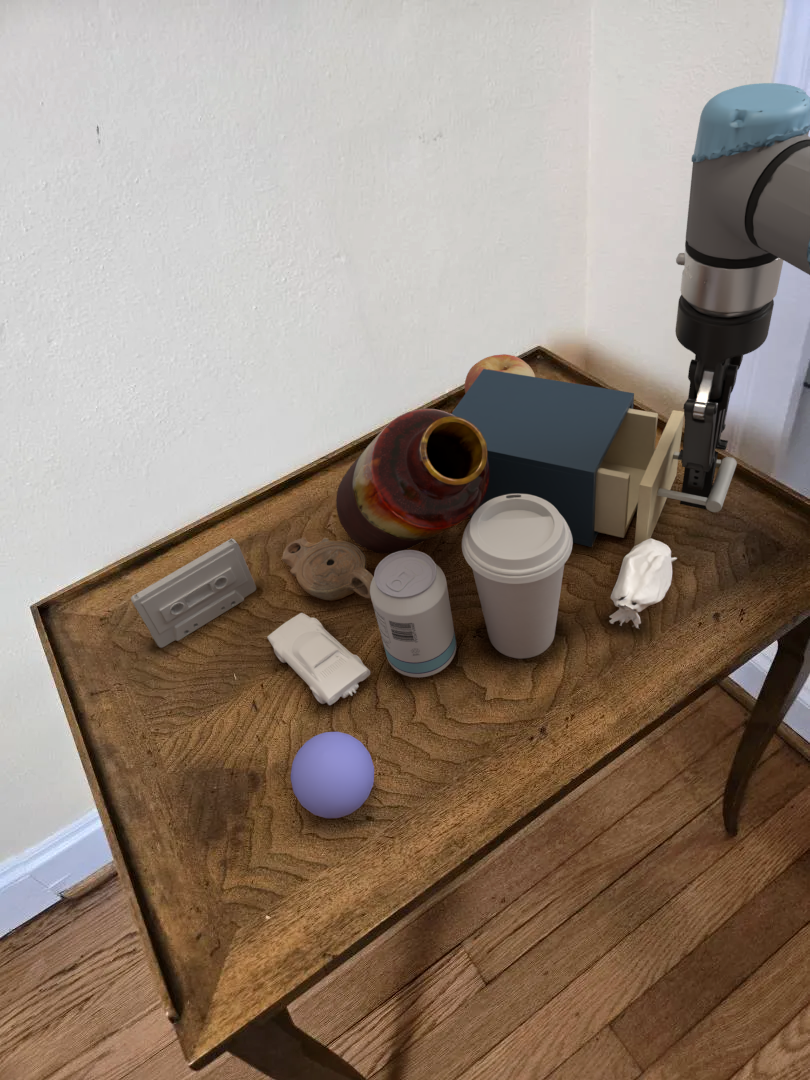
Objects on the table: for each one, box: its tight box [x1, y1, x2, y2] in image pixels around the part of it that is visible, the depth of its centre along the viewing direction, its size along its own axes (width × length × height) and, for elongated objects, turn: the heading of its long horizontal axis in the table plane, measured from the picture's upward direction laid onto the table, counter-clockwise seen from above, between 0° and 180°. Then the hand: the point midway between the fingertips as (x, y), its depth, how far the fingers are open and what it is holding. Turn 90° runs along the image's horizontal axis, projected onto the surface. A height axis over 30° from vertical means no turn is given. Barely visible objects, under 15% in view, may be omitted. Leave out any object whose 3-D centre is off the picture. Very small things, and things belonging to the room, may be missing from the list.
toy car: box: [267, 612, 371, 706], centre depth 78 cm, size 6×12×3 cm, turn 40°
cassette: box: [130, 538, 257, 649], centre depth 84 cm, size 12×2×8 cm, turn 127°
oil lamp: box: [281, 536, 374, 601], centre depth 85 cm, size 13×8×5 cm, turn 47°
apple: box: [464, 353, 536, 395], centre depth 101 cm, size 9×9×8 cm
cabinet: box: [450, 369, 635, 548], centre depth 89 cm, size 18×14×11 cm
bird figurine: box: [608, 537, 678, 629], centre depth 78 cm, size 5×7×10 cm
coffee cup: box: [461, 494, 574, 660], centre depth 74 cm, size 10×10×15 cm
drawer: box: [594, 408, 738, 547], centre depth 86 cm, size 23×12×9 cm, turn 63°
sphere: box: [290, 731, 375, 819], centre depth 67 cm, size 7×7×7 cm
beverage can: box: [370, 549, 457, 678], centre depth 75 cm, size 7×7×12 cm
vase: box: [335, 408, 490, 554], centre depth 78 cm, size 11×11×26 cm
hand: (694, 502), depth 83 cm, fingers closed
